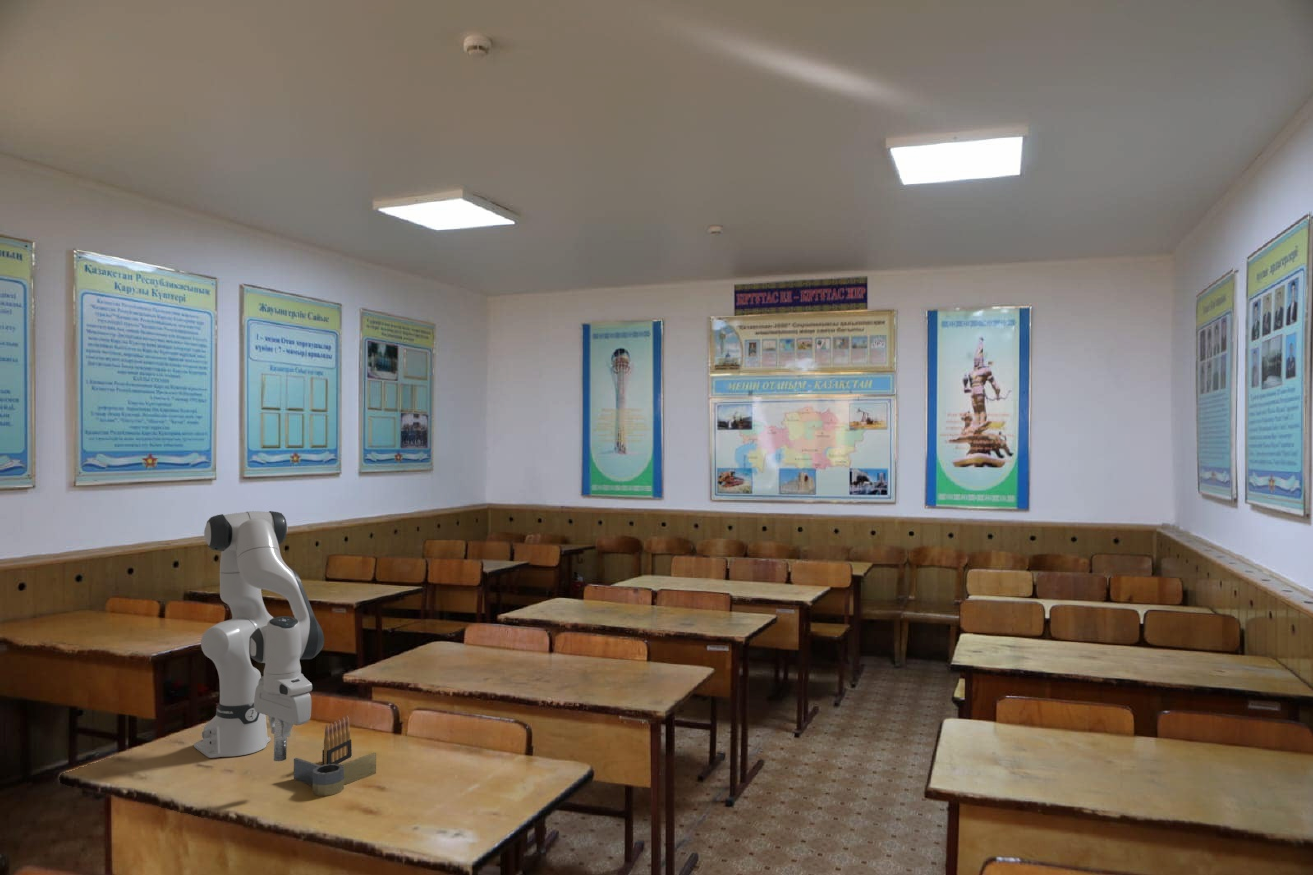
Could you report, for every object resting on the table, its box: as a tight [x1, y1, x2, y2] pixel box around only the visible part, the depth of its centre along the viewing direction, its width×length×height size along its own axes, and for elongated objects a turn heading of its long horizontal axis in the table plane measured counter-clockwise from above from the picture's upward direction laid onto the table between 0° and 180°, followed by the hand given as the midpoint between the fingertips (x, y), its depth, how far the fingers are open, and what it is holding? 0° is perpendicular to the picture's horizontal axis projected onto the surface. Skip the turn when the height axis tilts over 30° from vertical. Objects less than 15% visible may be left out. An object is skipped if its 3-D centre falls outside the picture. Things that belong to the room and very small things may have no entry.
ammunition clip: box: [321, 715, 353, 766], centre depth 243 cm, size 11×2×12 cm, turn 163°
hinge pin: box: [273, 718, 288, 762], centre depth 221 cm, size 3×3×12 cm
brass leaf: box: [312, 752, 377, 797], centre depth 227 cm, size 7×18×6 cm, turn 146°
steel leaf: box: [293, 757, 344, 787], centre depth 226 cm, size 18×7×6 cm, turn 56°
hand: (280, 735), depth 221 cm, fingers closed on hinge pin, 3 cm apart
